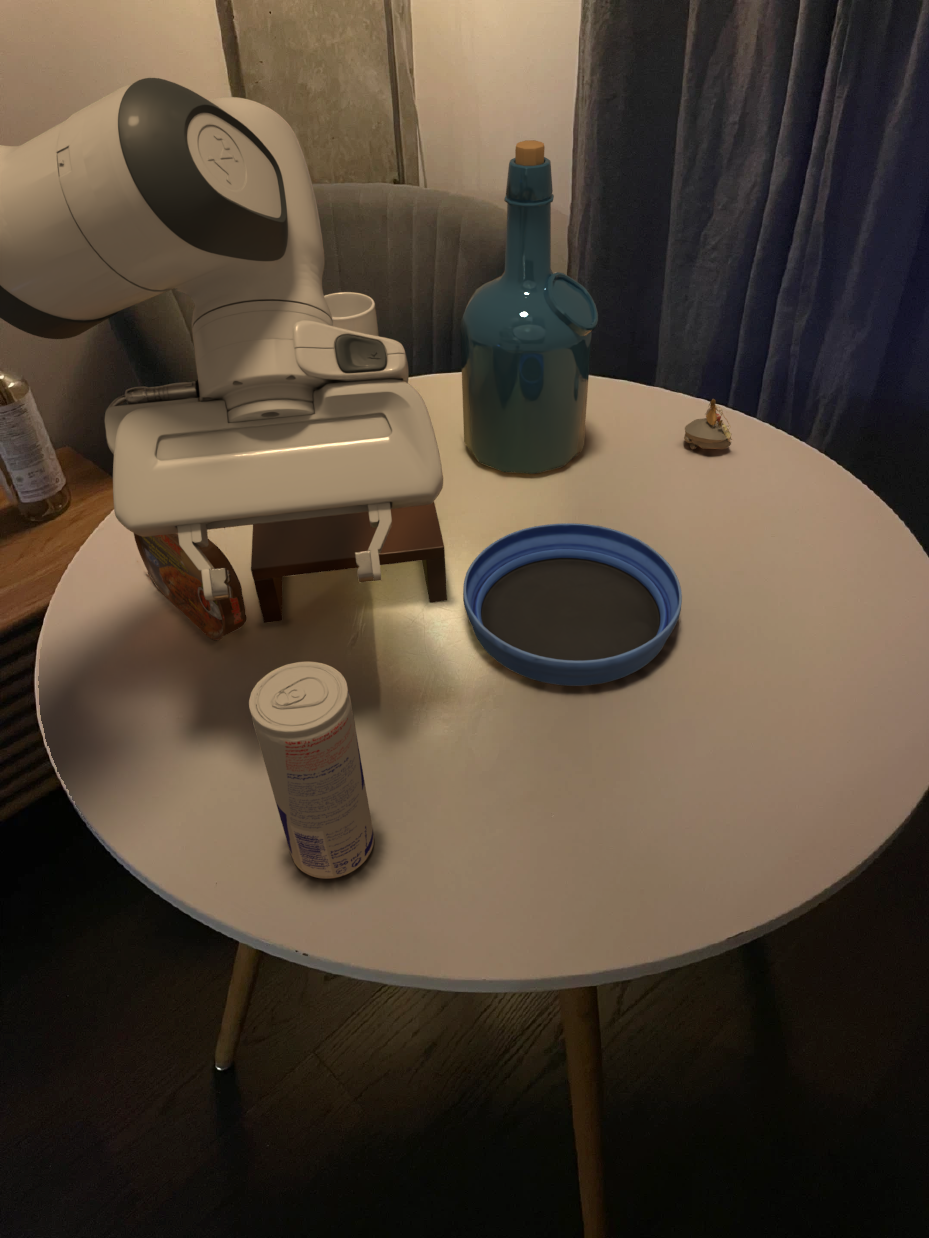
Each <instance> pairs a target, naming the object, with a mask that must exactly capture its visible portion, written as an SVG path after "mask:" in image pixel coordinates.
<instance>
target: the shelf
mask: <svg viewBox="0 0 929 1238" xmlns="http://www.w3.org/2000/svg"><path fill="white" fill-rule="evenodd" d="M391 517H392V527H391V529H390V531H389V534H388V536H387V538H386V541H385V543H384V545H383V548H382V550H381V552H380V553H379V561H380V566H385V565H396V564H402V563H403V564H404V563H411V562H413V563H414V562H421V565H422V570H423V574H424V576H423V577H424V582H425V587H426V591H427V597H428V602H429V603H430V604H432V603H440V602H448V587H447V570H446V553H445V544H444V539H443V535H442V531H441V526H440V521H439V518H438V513H437V508H436V503H435V501H434V502H433V503H431V504H429V505H422V506H413V507H404V508H396V509H391ZM376 529H377V527H375V528H372V527H371V526H370V519H369V512H360V513H351V514H342V515H334V516H325V517H316V518H307V519H298V520H289V521H280V522H272V523H263V524H254V525H252V533H251V534H252V536H251V557H250V558H251V559H250V572H251V576H252V579H253V584H254V589H255V592H256V596H257V600H258V604H259V608H260V609H259V610H260V612H261V617H262V621H263V623H264V624H268V623H276V622H278V623H279V622H283V619H284V618H283V617H284V616H283V608H284V607H283V602H284V601H283V600H284V599H283V597H284V596H283V592H284V591H283V589H284V588H283V587H284V585H283V584H284V583H283V581H284V579H283V577H293V576H301V575H308V574H319V573H328V572H334V571H335V572H336V571H344V570H352V569H358V567H357V564H356V556H355V553H357V552H364V551H368V549H369V546H370V544H371V541H372V539H373V537H374V534H375V532H376Z"/></svg>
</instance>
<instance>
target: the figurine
mask: <svg viewBox="0 0 929 1238" xmlns="http://www.w3.org/2000/svg"><path fill="white" fill-rule="evenodd" d="M716 403H717V402H716V399H714V398H712V399H711V400H710V401H709V404H708V407H707V408H708V409H707V410H706V413H705V418H704V417H703V418H697V419H693V420H692V421H691V422H689V423H688V424H686V425H685V426H684V436H683V440H684V441H685V442H686V443H688V445H689V447H690V449H691V450H695V449H696V448H698V447H699V448H700V449H703V450H725V449H727V448H730V447H731V445H732V443H733V441H734V439H733V438H732V435H733V433H732V432H731V431H730V429H731V424H730V422H729V421H728V419H727V418H726V416H725V415H724V413H723V412H724V411H723V409H722V407H719V406H717V405H716ZM717 412H719V413H717ZM722 416H723V417H724V419H725V420H726V422H727V424H728V425H726V423H724V421H723V419H722Z"/></svg>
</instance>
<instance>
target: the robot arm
mask: <svg viewBox="0 0 929 1238" xmlns="http://www.w3.org/2000/svg"><path fill="white" fill-rule="evenodd" d="M304 155H305V154H304V151H303V150H302V147H301V145H300V141H299V139H298V137H297V134H296V133H295V132H294V130H293V128H292V127H291V125H290V124H289V123H288V121H287V120H285V118H283V117H282V116H281V115H280V114H279V113H278V112H276V111H275V110H273V109H272V108H270V107H268V106H267V105H264V104H263V103H260V102H258V101H255V100H252V99H250V98H249V99H248V98H243V97H236V96H221V97H215V98H211V99H207V98H205V96H202V95H201V94H199V93H197V92H195V91H194V90H192V89H189V88H188V87H185V86H183V85H181V84H178V83H177V82H174V81H171V80H167V79H163V78H159V77H145V78H141V79H139V80H136V81H134V82H132V83H129V84H127V85H124V86H122V87H119V88H117V89H116V90H114V91H112V92H111V93H108V94H107V95H105V96H103V97H101V98H99V99H98V100H96V101H94V102H92V103H91V104H89V105H86V106H84V107H83V108H81V109H79V110H78V111H76V112H73V113H72V114H71V115H70V116H69V117H68V118H67V119H65V120H64V121H62V122H60V123H58V124H56V125H54V126H53V127H51V128H49V129H47V130H45V131H44V132H42V133H40V134H39V135H37V136H35V137H33V138H31V139H30V140H28V141H26V142H24V143H22V144H20V145H3V144H0V319H1V320H3V322H6V323H7V324H9V325H11V326H12V327H14V328H15V329H17V330H20V331H22V332H24V333H27V334H28V335H31V336H36V337H39V338H42V339H47V340H48V339H50V340H67V339H72V338H75V337H77V336H80V335H82V334H83V333H85V332H87V331H88V330H90V329H93V328H94V327H96V326H97V325H99V324H101V323H103V322H105V321H106V320H109V319H110V318H111V317H113V316H115V315H117V314H118V313H120V311H122V310H125V309H128V308H130V307H132V306H136V305H139V304H140V303H143V302H146V301H148V300H150V299H152V298H155V297H158V296H160V295H162V294H165V293H167V292H170V291H172V290H175V291H176V292H179V293H181V294H184V295H186V296H188V297H189V298H190V299H191V301H192V302H193V309H192V310H193V311H192V316H191V335H192V342H193V353H194V360H195V361H194V362H195V368H196V376H197V379H196V380H195V381H193V380H191V381H185V382H175V383H169V384H164V385H160V386H150V387H148V386H135V387H131V388H128V389H126V390H125V392H124V395H120V396H118V397H117V398H115V399H114V400H113V401H112V402H111V403H109V405H108V406H107V408H106V409H105V414H104V428H105V439H106V444H107V446H108V448H109V450H110V452H111V454H113V462H112V464H113V465H112V467H113V468H112V496H113V498H112V499H113V511H114V516H115V518H116V519H117V522H119V523H120V524H121V525H122V526H123V527H124V528H126V529H127V530H128V531H129V532H131V533H133V534H134V533H135V534H137V535H139V536H143V537H147V536H157V535H165V534H174V533H178V538H179V545H180V546H181V548H182V549H183V550H184V552H185V553H186V554H187V555H188V557H189V558H190V559H191V561H192V562H193V563H194V565H195V566H196V567H197V569H198V570H199V571H201V574H202V582H203V591H204V596H205V599H206V600H208V601H212V600H221V599H228V598H232V597H233V592H232V588H231V587H230V586H229V584H230V583H231V576H230V571H229V570H227V569H226V568H220V569H215V568H214V567H213V566H212V564H211V563H210V562H209V560H208V559H207V558H206V556H205V555H204V554H203V552H202V551H201V550H200V548H199V546H200V547H207V546H208V545H209V544H208V539H209V536H208V531H209V530H217V529H227V528H234V527H243V526H253V525H254V524H263V523H272V522H280V521H289V520H298V519H307V518H316V517H325V516H334V515H342V514H351V513H360V512H369V519H370V526H371V527H372V528H375V527H377V529H376V532H375V534H374V537H373V539H372V541H371V544H370V546H369V549H368V551H364V552H357V553H355V556H356V564H357V567H358V568H357V569H356V573H357V579H358V583H369V582H378V581H382V580H383V579H382V570H381V565H380V561H379V553H380V552H381V550H382V548H383V545H384V543H385V541H386V538H387V536H388V534H389V531H390V529H391V527H392V517H391V509H396V508H404V507H413V506H422V505H429V504H431V503H433V502H434V503H435V501H436V499H437V498H438V496H440V493H441V492H442V491H443V488H444V473H443V465H442V461H441V456H440V455H441V454H440V450H439V445H438V441H437V438H436V433H435V429H434V426H433V422H432V420H431V416H430V412H429V410H428V407H427V405H426V402H425V400H424V398H423V396H422V395H421V394H420V392H419V391H418V390H417V389H416V388H415V387H414V386H413V385H411V384H410V383H409V377H410V376H409V374H410V373H409V372H410V371H409V363H408V362H409V361H408V357H407V353H406V350H405V348H404V346H403V344H402V343H401V342H399V341H398V340H395V339H392V338H388V337H385V336H380V335H379V336H374V335H369V334H364V333H359V332H355V331H350V330H346V329H342V328H338V327H334V326H333V320H332V315H331V312H330V309H329V307H328V305H327V303H326V300H325V298H324V296H325V295H324V291H323V276H324V270H325V263H326V262H325V260H326V259H325V258H326V257H325V248H324V241H323V233H322V227H321V221H320V214H319V209H318V205H317V200H316V195H315V191H314V187H313V181H312V178H311V175H310V171H309V168H308V164H307V161H306V158H305V156H304ZM124 403H127V404H124Z"/></svg>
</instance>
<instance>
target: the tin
mask: <svg viewBox="0 0 929 1238" xmlns="http://www.w3.org/2000/svg"><path fill="white" fill-rule="evenodd" d="M133 537H134V541H135V545H136V547H137V550H138V553H139V555H140V557H141V560H142V562H143V564H144V567H145V568H146V571H147V573H148V575H149V576H150V578H151V580H152V581H153V584H154V585H155V586H156V587H157V589H158V590H159V591H160V593H161V594H162V595H163V596H164V597H165V598H166V599H167V600H168V601H169V602H171V604H172V605H174V606H175V607H176V609H178V610H179V611H180V613H182V614H183V615H184V616H185V617H186V618H187V619H189V621H190V622H192V623H193V624H194V625H195V626H196V627H197V628H198V629H199V630H200V631H201V632H202V633H203V634H204V635H205V636H206V637H207V638H209V639H211V640H213V641H219V640H221V639H223V637H226V636H227V635H229V634H231V633H234V632H236V631H238V630H239V629H241V628H243V626H245V625H246V623H247V621H248V620H247V619H248V617H247V612H246V611H247V610H246V604H245V600H244V595H243V588H242V583H241V581H240V579H239V577H238V575H237V573H236V570H235V569H234V567H233V565H232V563H231V561H230V560H229V559H228V557H227V556H226V555H225V553H224V552H223V550H221V549H220V548H219V546H218V545H217V544H216V543H214V542H213V540H211V539H209V538H208V544H209V545H208V546H207V547H200V546H199V548H200V550H201V551H202V552H203V554H204V555H205V556H206V558H207V559H208V560H209V562H210V563H211V564H212V566H213V567H214V568H215V569H220V568H226V569H227V570H229V571H230V576H231V583H230V584H229V586H230V587H231V588H232V592H233V597H232V598H228V599H221V600H212V601H208V600H206V599H205V596H204V591H203V582H202V574H201V571H199V570H198V569H197V567H196V566H195V565H194V563H193V562H192V561H191V559H190V558H189V557H188V555H187V554H186V553H185V552H184V550H183V549H182V548H181V546H180V545H179V538H178V533H174V534H165V535H157V536H147V537H143V536H139V535H137V534H135V533H133Z"/></svg>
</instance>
